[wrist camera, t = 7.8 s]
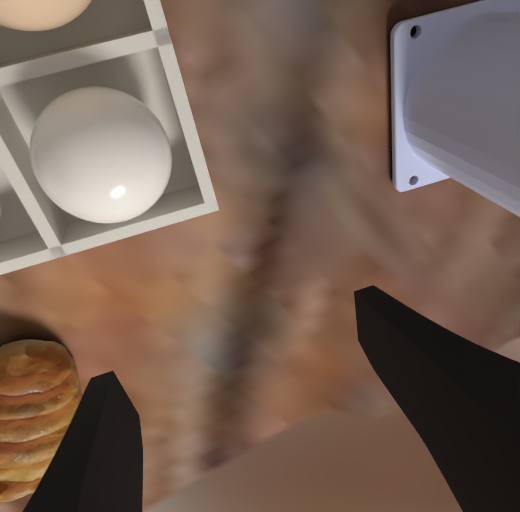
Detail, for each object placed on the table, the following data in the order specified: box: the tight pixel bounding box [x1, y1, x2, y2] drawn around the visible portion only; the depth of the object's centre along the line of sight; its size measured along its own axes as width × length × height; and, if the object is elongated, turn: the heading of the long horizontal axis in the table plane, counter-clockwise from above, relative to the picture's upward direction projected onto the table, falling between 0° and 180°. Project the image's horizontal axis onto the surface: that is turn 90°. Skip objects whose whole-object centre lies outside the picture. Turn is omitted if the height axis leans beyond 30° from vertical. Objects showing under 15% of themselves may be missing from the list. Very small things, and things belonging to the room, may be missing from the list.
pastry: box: [0, 339, 82, 502], centre depth 22 cm, size 9×7×4 cm
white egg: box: [30, 86, 172, 223], centre depth 15 cm, size 5×5×5 cm
